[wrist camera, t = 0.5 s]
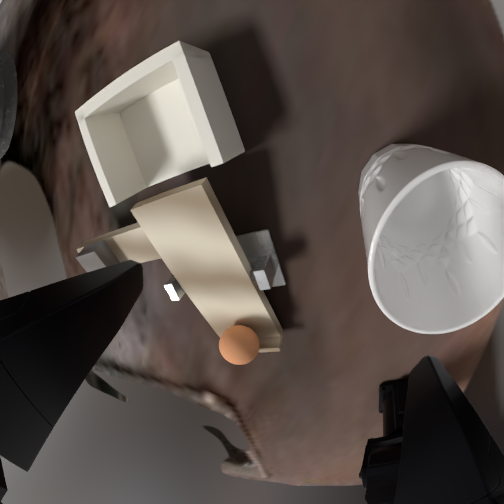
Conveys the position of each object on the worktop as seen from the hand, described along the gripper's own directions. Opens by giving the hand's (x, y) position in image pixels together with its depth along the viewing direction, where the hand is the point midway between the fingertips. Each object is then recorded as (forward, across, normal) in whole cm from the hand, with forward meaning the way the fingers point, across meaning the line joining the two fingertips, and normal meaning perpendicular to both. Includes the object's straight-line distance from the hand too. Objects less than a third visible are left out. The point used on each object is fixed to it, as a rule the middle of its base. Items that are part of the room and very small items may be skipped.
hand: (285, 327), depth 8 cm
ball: (+10, +2, +14) cm, 17 cm away
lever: (+12, +9, +10) cm, 18 cm away
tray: (+14, +12, -2) cm, 18 cm away
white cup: (+14, -6, -2) cm, 15 cm away
